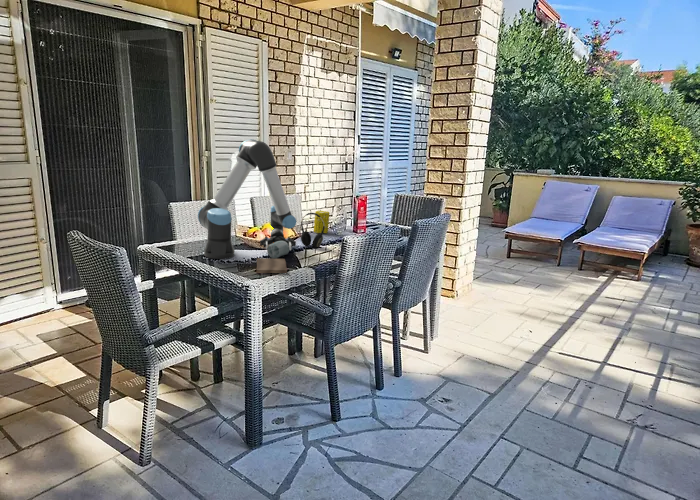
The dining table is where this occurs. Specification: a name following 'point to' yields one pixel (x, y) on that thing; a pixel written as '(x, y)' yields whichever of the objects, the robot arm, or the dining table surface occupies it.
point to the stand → (271, 265)
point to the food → (319, 223)
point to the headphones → (307, 238)
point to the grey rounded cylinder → (278, 249)
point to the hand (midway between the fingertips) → (278, 247)
